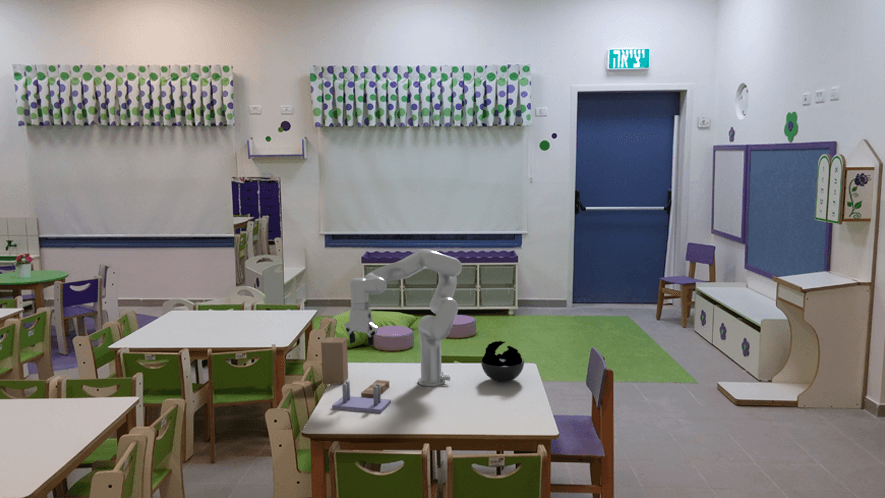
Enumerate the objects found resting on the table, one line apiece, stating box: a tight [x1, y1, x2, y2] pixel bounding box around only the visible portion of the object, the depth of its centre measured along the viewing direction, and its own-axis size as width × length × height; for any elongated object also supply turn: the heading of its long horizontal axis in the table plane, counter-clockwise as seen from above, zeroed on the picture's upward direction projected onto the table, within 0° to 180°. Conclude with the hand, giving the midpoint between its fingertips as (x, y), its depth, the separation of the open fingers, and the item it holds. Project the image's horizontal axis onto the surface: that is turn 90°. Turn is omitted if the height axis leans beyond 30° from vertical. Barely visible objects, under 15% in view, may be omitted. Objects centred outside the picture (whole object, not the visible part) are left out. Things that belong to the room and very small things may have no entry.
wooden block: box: [320, 336, 349, 385], centre depth 327 cm, size 10×10×20 cm
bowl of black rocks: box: [480, 340, 525, 383], centre depth 322 cm, size 20×20×19 cm
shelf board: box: [360, 379, 390, 398], centre depth 309 cm, size 18×6×4 cm, turn 163°
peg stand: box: [331, 380, 392, 414], centre depth 294 cm, size 22×12×10 cm, turn 74°
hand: (361, 344), depth 305 cm, fingers open, 9 cm apart
